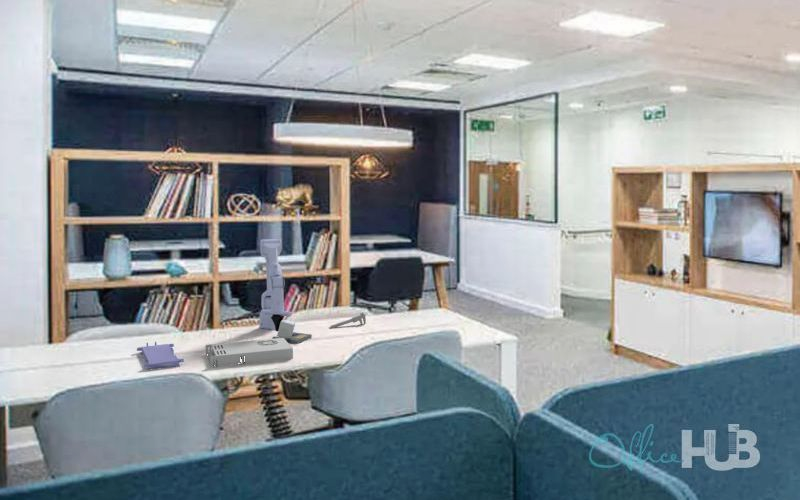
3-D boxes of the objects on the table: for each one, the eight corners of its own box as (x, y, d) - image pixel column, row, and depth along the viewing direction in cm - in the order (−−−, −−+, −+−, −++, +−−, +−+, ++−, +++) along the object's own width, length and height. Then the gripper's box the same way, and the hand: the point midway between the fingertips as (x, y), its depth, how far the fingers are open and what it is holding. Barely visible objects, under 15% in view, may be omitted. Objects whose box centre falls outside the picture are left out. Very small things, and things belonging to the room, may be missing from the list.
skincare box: (289, 340, 295) (293, 324, 294) (276, 336, 295) (280, 321, 294) (291, 337, 301) (295, 322, 300) (279, 333, 301) (283, 318, 300)
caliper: (364, 323, 329) (364, 311, 328) (365, 324, 328) (365, 312, 328) (328, 328, 319) (328, 316, 318) (329, 329, 318) (329, 316, 317)
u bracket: (272, 340, 294) (272, 337, 294) (287, 334, 305) (287, 331, 305) (297, 343, 289) (297, 340, 289) (311, 337, 300) (311, 334, 299)
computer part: (172, 348, 282) (136, 352, 275) (172, 339, 281) (135, 343, 275) (184, 366, 256) (144, 371, 249) (184, 355, 255) (144, 360, 248)
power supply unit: (205, 356, 271) (205, 344, 270) (283, 348, 283) (283, 337, 282) (210, 368, 253) (210, 356, 253) (293, 360, 266) (293, 348, 265)
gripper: (259, 302, 297) (259, 331, 298) (285, 303, 291) (285, 333, 292) (268, 300, 303) (269, 328, 304) (294, 301, 297) (294, 330, 298)
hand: (277, 330), depth 298 cm, fingers closed, pressing on skincare box
